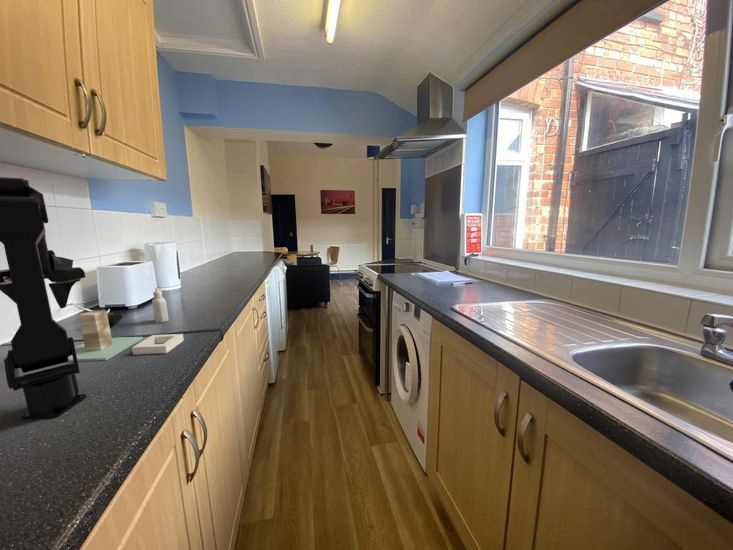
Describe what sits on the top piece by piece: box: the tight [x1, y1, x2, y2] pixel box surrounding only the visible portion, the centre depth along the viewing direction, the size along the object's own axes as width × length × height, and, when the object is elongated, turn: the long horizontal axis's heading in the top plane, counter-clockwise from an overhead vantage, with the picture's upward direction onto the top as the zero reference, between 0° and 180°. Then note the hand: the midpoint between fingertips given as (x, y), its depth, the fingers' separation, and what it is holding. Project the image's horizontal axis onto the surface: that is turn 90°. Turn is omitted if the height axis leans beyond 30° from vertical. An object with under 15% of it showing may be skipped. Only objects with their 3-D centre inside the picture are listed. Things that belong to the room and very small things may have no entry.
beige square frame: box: [131, 333, 185, 356], centre depth 84 cm, size 8×8×2 cm
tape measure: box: [107, 312, 124, 327], centre depth 102 cm, size 7×7×4 cm
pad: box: [68, 336, 144, 363], centre depth 83 cm, size 14×14×1 cm
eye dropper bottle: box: [151, 287, 169, 324], centre depth 105 cm, size 4×6×12 cm
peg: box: [78, 309, 113, 351], centre depth 82 cm, size 4×4×10 cm
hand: (44, 308), depth 77 cm, fingers open, 9 cm apart
